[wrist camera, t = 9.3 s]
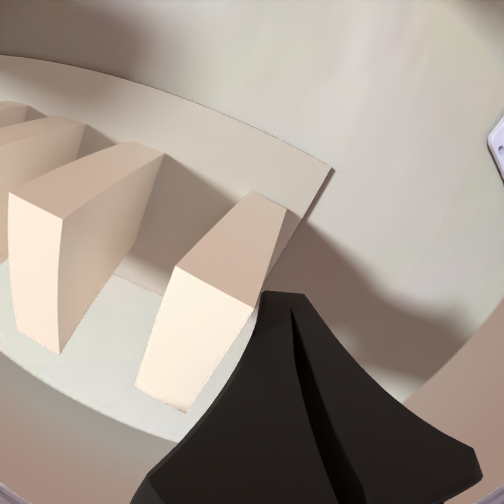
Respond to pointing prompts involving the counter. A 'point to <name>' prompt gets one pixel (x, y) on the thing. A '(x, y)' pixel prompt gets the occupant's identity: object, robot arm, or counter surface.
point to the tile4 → (12, 113)
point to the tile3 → (33, 157)
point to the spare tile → (209, 301)
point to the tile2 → (74, 236)
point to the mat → (170, 158)
